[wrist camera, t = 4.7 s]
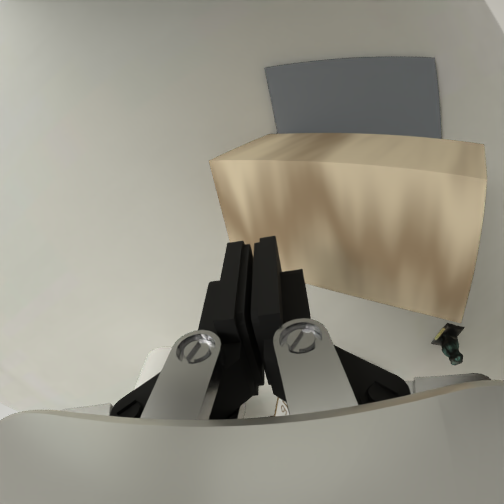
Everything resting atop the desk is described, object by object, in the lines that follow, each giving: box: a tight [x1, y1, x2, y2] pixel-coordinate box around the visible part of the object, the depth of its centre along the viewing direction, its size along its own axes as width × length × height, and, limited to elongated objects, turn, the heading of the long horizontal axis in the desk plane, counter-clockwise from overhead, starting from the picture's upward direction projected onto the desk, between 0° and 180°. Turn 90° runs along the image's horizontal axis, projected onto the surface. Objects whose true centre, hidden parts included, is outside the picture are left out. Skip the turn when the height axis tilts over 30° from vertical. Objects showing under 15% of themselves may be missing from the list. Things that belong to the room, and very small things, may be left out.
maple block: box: [209, 133, 487, 323], centre depth 14 cm, size 6×5×12 cm
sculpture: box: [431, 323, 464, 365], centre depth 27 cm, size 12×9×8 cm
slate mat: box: [265, 57, 441, 139], centre depth 19 cm, size 14×11×1 cm
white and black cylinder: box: [134, 347, 172, 390], centre depth 25 cm, size 7×7×10 cm
